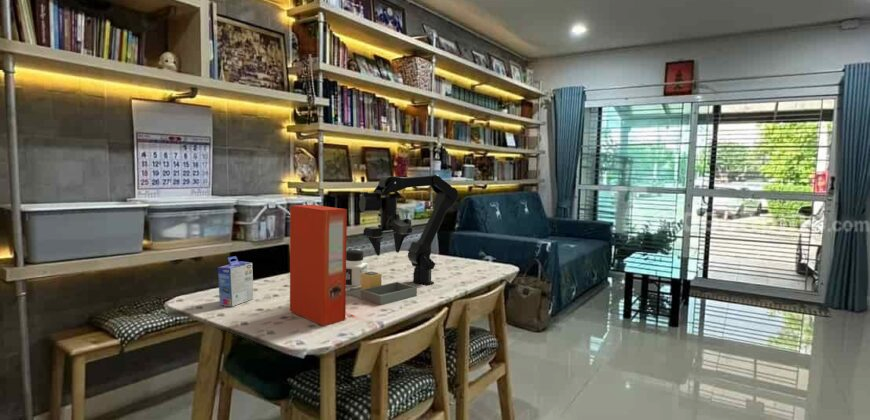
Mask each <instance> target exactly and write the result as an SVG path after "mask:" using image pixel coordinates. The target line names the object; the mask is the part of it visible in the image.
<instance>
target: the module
mask: <svg viewBox="0 0 870 420" xmlns="http://www.w3.org/2000/svg"><path fill="white" fill-rule="evenodd" d="M381 285H382V273H379V272H375V271H367V272H366V273H363V274H361V290H363V289H367V288H372V287H376V286H381Z"/></svg>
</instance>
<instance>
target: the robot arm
mask: <svg viewBox="0 0 870 420" xmlns="http://www.w3.org/2000/svg"><path fill="white" fill-rule="evenodd" d="M427 186H430V187H431V190H432V191H433V192H434V193H435V198H434V200H435V203H434V204H435V205H434V208H433V209H432V212H431V213H430V216H429V219H428V221H427V223H426V225H425V227H424V229H423V232H422V234H421V236H420V237H419V239H418V240H417V241H412V242H411V244H410V247H409V248H408V249H407V257H408V260H409V261H410V263H411V265H412V267H414V268H413V273H412V275H413V276H412V277H413V279H412V281H411V283H414V284H417V285H421V286H428V285H432V284H435V282H434V281H433V280H432V270H434V268H435V266H436V263H435V262H434V261H433V259H431V254H432V243H433V242H434V239H435V237H436V234H437V233H438V231H439V229H440V226H441V224H442V222H443V220H444V218H445V215H446V213H448V212H447V211H448V210H450V209H451V208H452V207H453V206H454V205H455V203H457V200H458V198H459V192H458V190H457V188H455V187H454V186H452V185H451V184H449V182H446V181H445V180H444V179H443V178H442V177H441V176H440V175H438V174H429V175H418V176H416V175H415V176H406V177H403V176H402V177H401V176H393V175H383V176H381V177H380V179H379V181H378V185H377V186H376V187H375V189H374V190H373V192H367V191H365V192H364V191H362V192H361V196H360V199H359V202H358V206H359V211H360V212H363V213H368V212H379V210H380V213H378V217H380V224H378V225H377V227H376V226H369V227H368V226H367V227H364V229H363V233H362V235H363V236H365V238H367V239H368V240H369V242H370V244H371V246H372V247H373V250H374V253H375V254H376V256H378V257H379V256H380V255H381V242H382V239H383V234H390V233H393V239H394V247H395V252H396V253H398V254H399V253H400V250H401V248H402V245H403V242H404V240H405V239H406V237H408V236H409V235H410V234H412V233H413V228H412V220H411V219H410V218H404V219H400V214H399V213H397V211H398V209H397V207H398V206H397V204H398V199H403V196H402V195H401V194H400V191H403V190H405V189H408V188H419V187H427Z"/></svg>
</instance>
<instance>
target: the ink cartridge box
mask: <svg viewBox="0 0 870 420" xmlns="http://www.w3.org/2000/svg"><path fill="white" fill-rule="evenodd" d="M231 260H232V261H231ZM227 261H228V264H225V265H222V266H218V267H217V275H218V277H217V278H218V293H219V306H223V305H224V306H223V307H230V308H231V307H235V306H237V305H240V304H243V303H245V302H248V301H251V300H253V299H254V280H253V279H254V276H253V275H254V274H253V262H249V261H244V260H243V261H239V259H238V257H237V256H236V255H235V256H229V257H227Z"/></svg>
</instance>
